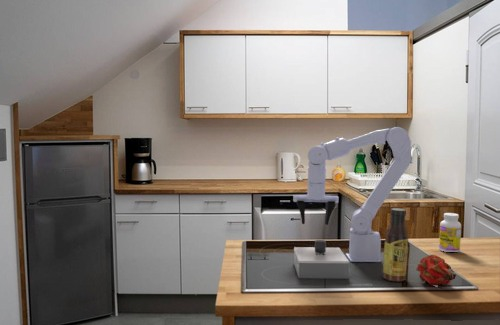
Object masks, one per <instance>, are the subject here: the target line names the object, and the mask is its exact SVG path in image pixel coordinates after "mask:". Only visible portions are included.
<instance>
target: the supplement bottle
mask: <svg viewBox="0 0 500 325" xmlns="http://www.w3.org/2000/svg"><path fill="white" fill-rule="evenodd" d="M459 218H460V216H459V213H453V212H445V213H443V220H442V221H440V223H439V240H438V242H439V243H438V250H439V249H440V250H439V251H440V252H443V251H444V252H443V253H446V252H458V253H459V252H460V250H461V236H462V224H461V222H459Z"/></svg>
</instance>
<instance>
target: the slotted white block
mask: <svg viewBox="0 0 500 325" xmlns="http://www.w3.org/2000/svg"><path fill="white" fill-rule="evenodd" d="M293 265H294V268H295V272H296V274H297V277H298V279H348V280H349V277H350V276H349V274H350V273H349V272H350V271H349V270H350V260H349V258H348V257H347V256H346V254H344V252H343V251H342V250H341V248H340V247H326V252H325V253H322V255H318V253H317V252H315V246H314V247H313V246H312V247H311V246H309V247H307V246H306V247H304V246H303V247H301V246H300V247H299V246H298V247H296V246H294V248H293Z"/></svg>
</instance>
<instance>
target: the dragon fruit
mask: <svg viewBox="0 0 500 325" xmlns="http://www.w3.org/2000/svg"><path fill="white" fill-rule="evenodd" d="M415 269H416V272H419V277H420V280H421V282H422V283H424V282H426V281H427V282H428V284H429V285H431V286H432V285H438V284H439V286H438V287H441V286H440V285H446V286H449V285H450V284H451V283H452V281H453V280H455V279H456V277H457V275H456V273H455V271H454V270H453V269H452V266H451V265H449V264H448V263H447V262H446V260H445V259H444V258H442V257H440V256H438V255H437V254H429V255H428V254H427V256H424V257H423V258H421V259H420V260H419V263H418V264H417V267H416V268H415Z"/></svg>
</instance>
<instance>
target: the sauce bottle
mask: <svg viewBox="0 0 500 325" xmlns="http://www.w3.org/2000/svg"><path fill="white" fill-rule="evenodd" d="M406 215H407V210H406V209H405V208H398V207H397V208H396V207H395V208H394V207H393V208H390V225H389V227H388V228H387V230H386V231H385V238H384V247H383V248H384V249H383V263H382V264H383V266H382V273H383V274H382V277H383V279H385V280H387V281H389V282H399V283H401V282H403V281H405V279H406V277H407V276H406V275H407V267H408V266H407V264H408V249H409V238H408V237H409V236H408V235H407V229H406V226H405V225H406V224H405V221H406Z"/></svg>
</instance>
